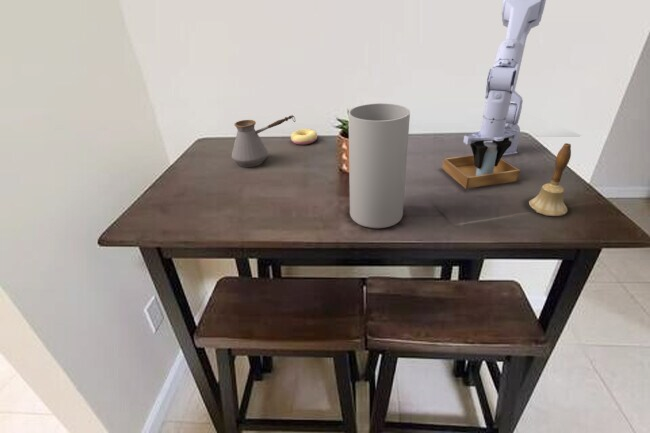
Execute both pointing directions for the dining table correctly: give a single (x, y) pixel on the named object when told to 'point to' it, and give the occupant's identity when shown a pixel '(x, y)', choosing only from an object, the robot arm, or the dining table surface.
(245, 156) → the coffee pot
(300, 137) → the donut
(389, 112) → the cylinder vase
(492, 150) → the shaker
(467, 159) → the wooden tray
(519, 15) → the robot arm
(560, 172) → the hand bell
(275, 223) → the dining table surface
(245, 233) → the dining table surface
